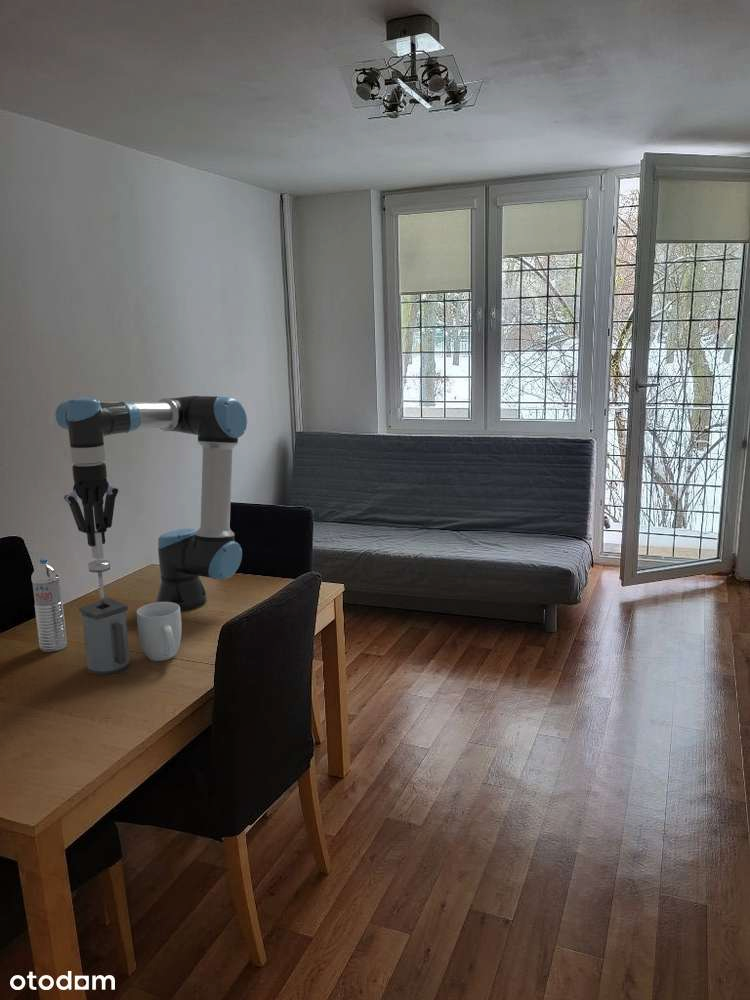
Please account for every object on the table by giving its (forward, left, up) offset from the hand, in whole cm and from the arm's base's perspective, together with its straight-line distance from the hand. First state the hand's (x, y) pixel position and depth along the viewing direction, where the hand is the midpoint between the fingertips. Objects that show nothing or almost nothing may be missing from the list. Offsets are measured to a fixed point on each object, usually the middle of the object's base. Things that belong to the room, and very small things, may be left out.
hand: (98, 557), depth 181 cm
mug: (-12, +6, -29) cm, 32 cm away
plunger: (0, 0, -17) cm, 17 cm away
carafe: (0, +1, -29) cm, 29 cm away
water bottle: (+4, -22, -29) cm, 37 cm away
